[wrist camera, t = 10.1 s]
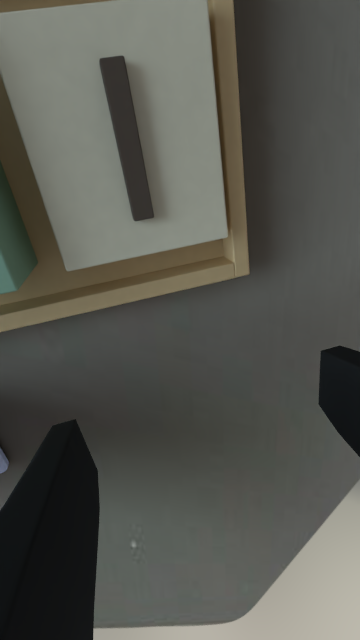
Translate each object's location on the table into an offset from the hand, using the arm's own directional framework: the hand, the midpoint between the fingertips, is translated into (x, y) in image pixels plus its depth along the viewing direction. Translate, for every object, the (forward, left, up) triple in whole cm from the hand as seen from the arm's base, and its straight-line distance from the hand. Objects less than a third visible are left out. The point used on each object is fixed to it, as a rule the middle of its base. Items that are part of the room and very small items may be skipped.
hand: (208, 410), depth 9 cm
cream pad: (0, +7, -9) cm, 12 cm away
